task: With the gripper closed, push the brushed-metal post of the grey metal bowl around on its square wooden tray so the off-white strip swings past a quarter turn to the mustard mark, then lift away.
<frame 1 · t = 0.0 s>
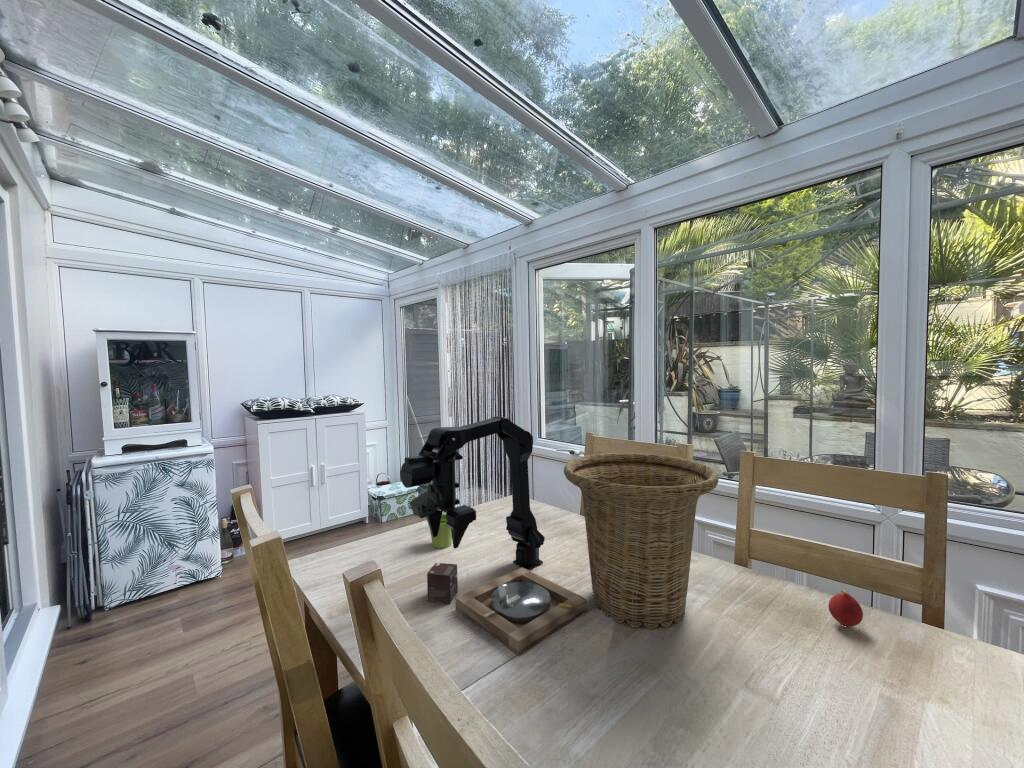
hand: (445, 542, 103), 15 cm above the table, fingers open, 9 cm apart
wicker basket: (637, 603, 101), on the table
onion: (845, 627, 91), on the table
box: (443, 597, 105), on the table
square wooden tray: (520, 610, 98), on the table
plant pot: (441, 545, 136), on the table
grey metal bowl: (520, 590, 98), point 5 cm above the table, hinge at 0.0°
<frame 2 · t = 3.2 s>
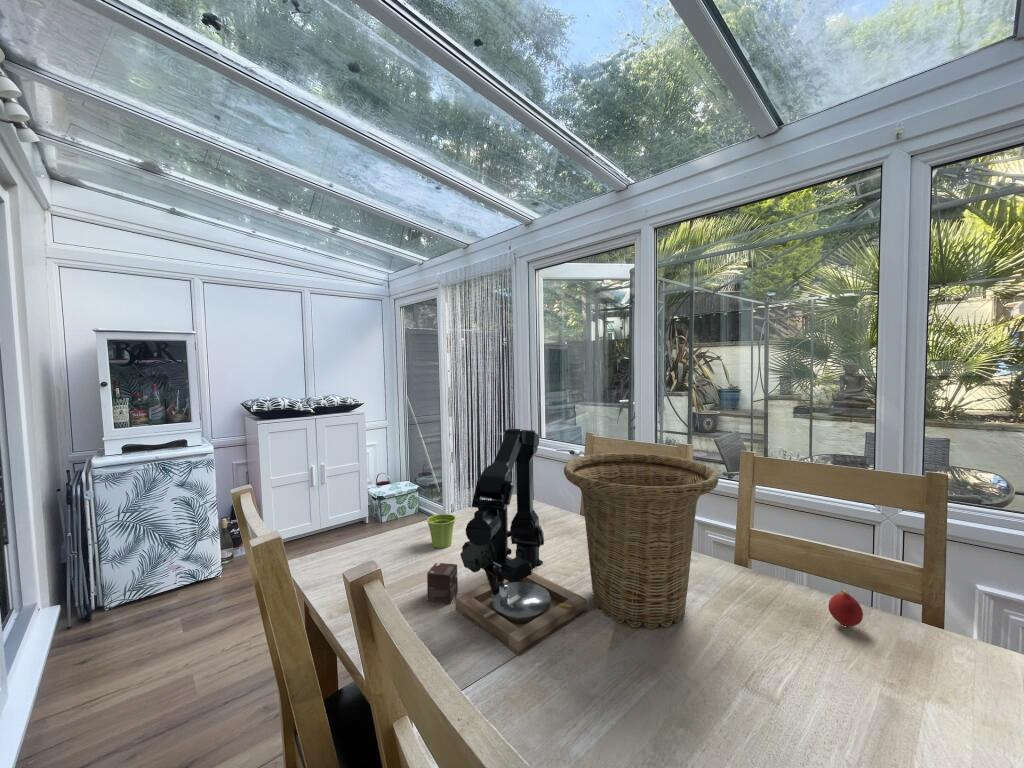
hand: (495, 594, 96), 5 cm above the table, fingers closed
grey metal bowl: (520, 590, 98), point 5 cm above the table, hinge at 3.4°, touching gripper
everything else where it was.
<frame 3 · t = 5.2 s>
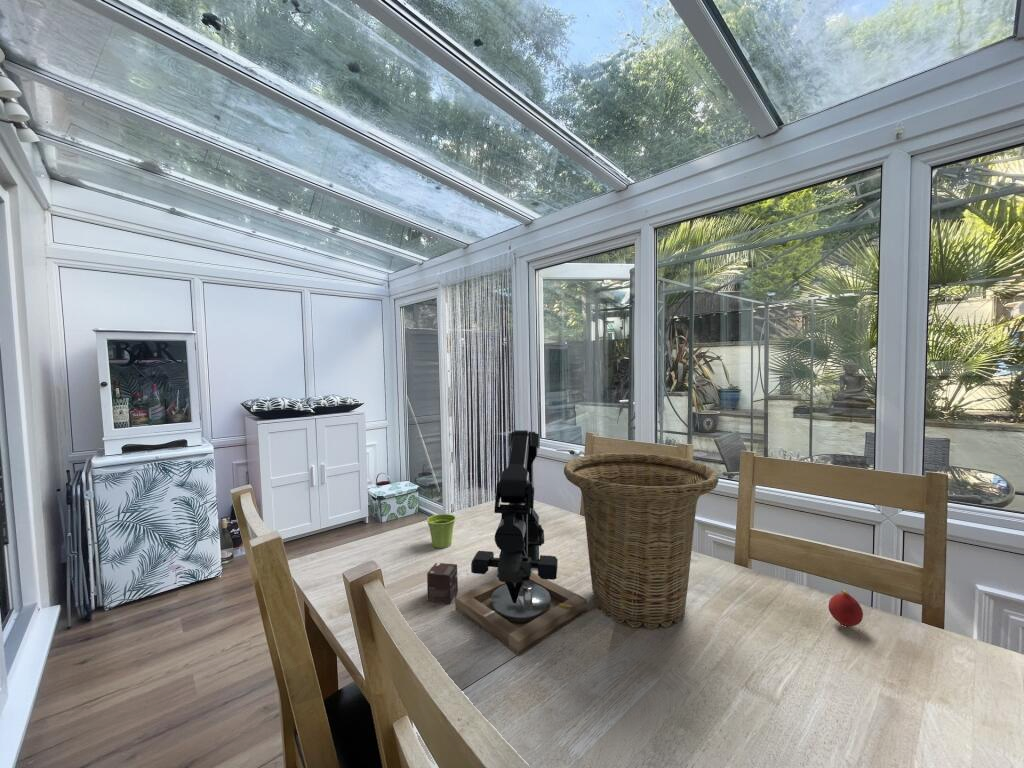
hand: (514, 602, 93), 5 cm above the table, fingers closed
grey metal bowl: (520, 590, 98), point 5 cm above the table, hinge at 63.8°, touching gripper
everything else where it was.
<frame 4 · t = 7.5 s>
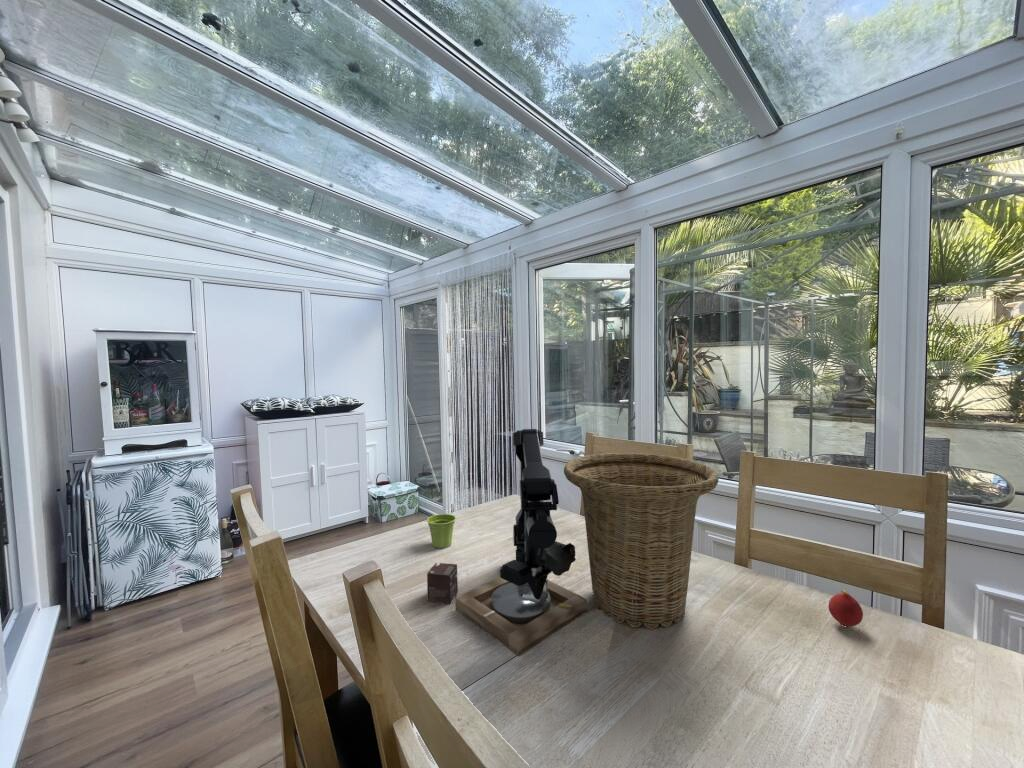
hand: (537, 598, 94), 5 cm above the table, fingers closed
grey metal bowl: (520, 590, 98), point 5 cm above the table, hinge at 121.5°, touching gripper
everything else where it was.
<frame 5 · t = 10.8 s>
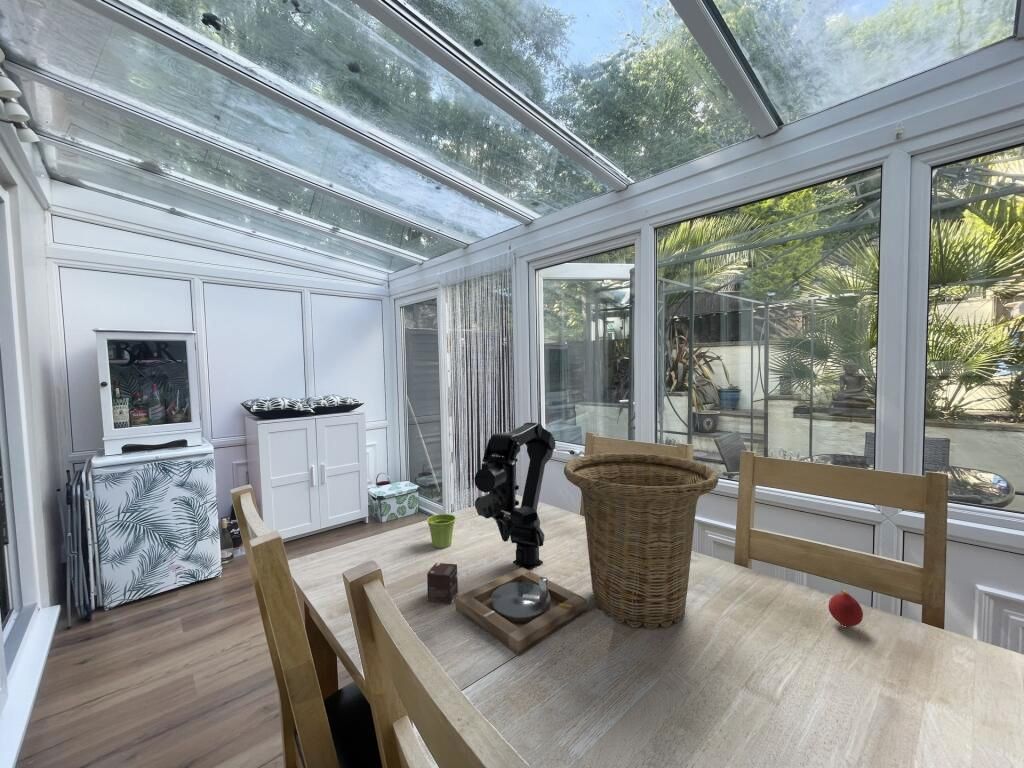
hand: (505, 540, 109), 12 cm above the table, fingers closed
grey metal bowl: (520, 590, 98), point 5 cm above the table, hinge at 121.9°
everything else where it was.
at the end: grey metal bowl at +122° (first picture: +0°); grey metal bowl touching nothing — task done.
